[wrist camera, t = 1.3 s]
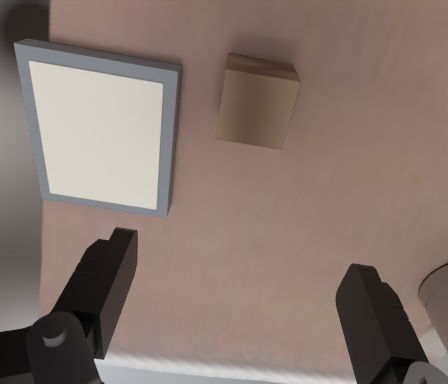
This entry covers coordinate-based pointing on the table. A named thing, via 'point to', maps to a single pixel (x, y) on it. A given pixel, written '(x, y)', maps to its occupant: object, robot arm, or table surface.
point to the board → (101, 126)
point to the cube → (257, 101)
